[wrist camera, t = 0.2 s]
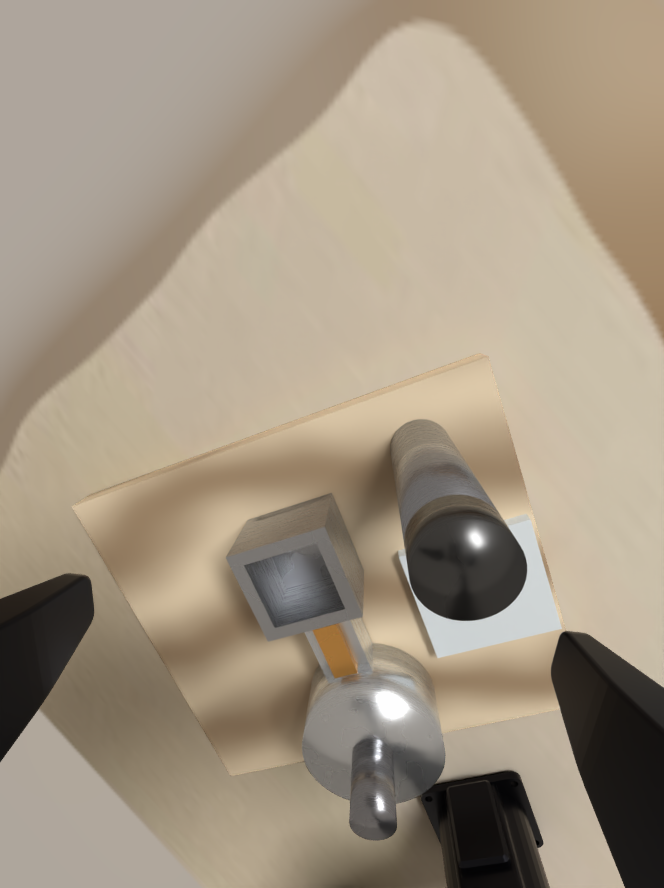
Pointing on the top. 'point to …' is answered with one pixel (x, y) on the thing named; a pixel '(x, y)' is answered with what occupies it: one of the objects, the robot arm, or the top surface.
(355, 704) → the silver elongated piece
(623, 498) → the top surface
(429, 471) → the metal cylinder
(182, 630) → the board
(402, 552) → the coaster
